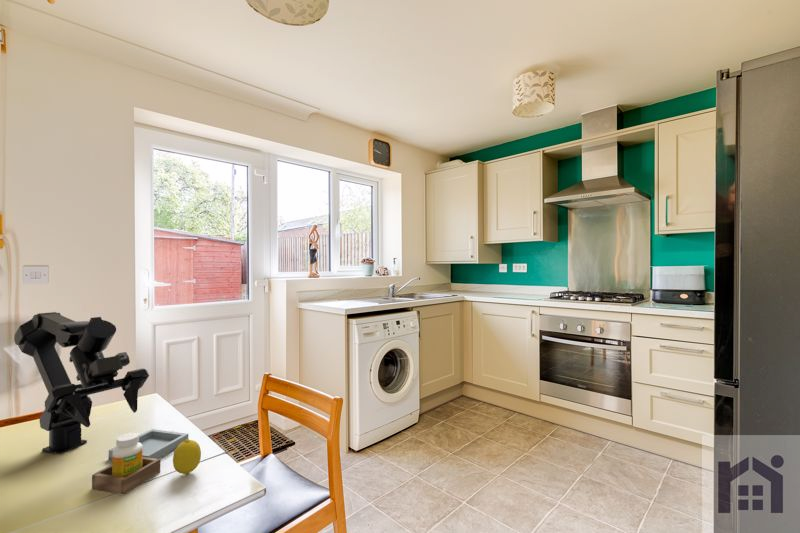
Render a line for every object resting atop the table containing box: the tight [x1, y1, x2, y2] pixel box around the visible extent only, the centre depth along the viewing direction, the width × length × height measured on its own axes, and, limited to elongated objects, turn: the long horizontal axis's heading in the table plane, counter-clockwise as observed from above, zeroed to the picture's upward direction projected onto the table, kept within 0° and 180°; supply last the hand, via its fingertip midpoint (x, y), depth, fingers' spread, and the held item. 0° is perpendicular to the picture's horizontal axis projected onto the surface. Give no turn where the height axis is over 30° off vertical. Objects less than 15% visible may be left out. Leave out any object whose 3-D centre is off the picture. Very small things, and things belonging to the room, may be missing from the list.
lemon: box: [172, 438, 202, 476], centre depth 82 cm, size 6×6×8 cm
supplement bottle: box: [111, 432, 143, 478], centre depth 80 cm, size 5×5×10 cm
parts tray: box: [108, 428, 189, 461], centre depth 93 cm, size 12×12×2 cm
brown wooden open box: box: [91, 456, 161, 496], centre depth 80 cm, size 9×9×3 cm
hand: (113, 418), depth 83 cm, fingers open, 9 cm apart
